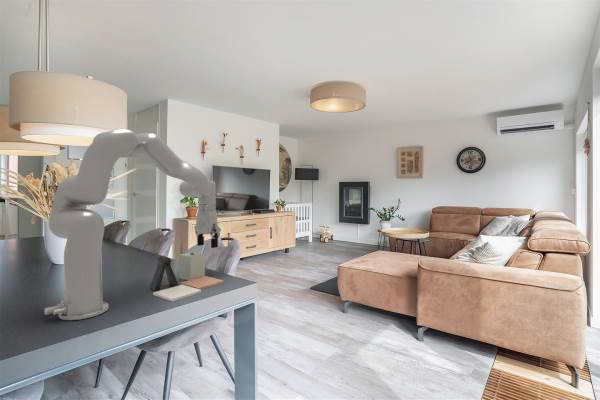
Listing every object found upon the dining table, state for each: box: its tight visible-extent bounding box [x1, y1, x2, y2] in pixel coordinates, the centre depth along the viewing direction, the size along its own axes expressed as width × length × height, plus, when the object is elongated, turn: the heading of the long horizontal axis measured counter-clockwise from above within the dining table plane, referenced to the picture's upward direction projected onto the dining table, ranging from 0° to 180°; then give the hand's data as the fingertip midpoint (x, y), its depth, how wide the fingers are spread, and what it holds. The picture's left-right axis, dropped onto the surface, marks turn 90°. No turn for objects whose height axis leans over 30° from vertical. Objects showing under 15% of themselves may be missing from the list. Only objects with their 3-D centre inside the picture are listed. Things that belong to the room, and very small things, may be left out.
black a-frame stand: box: [149, 255, 180, 292], centre depth 120 cm, size 9×6×12 cm, turn 129°
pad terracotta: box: [179, 275, 225, 290], centre depth 126 cm, size 12×12×1 cm
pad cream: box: [152, 284, 203, 302], centre depth 114 cm, size 12×12×1 cm
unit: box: [178, 251, 206, 281], centre depth 135 cm, size 7×8×11 cm
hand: (207, 246), depth 141 cm, fingers open, 9 cm apart
